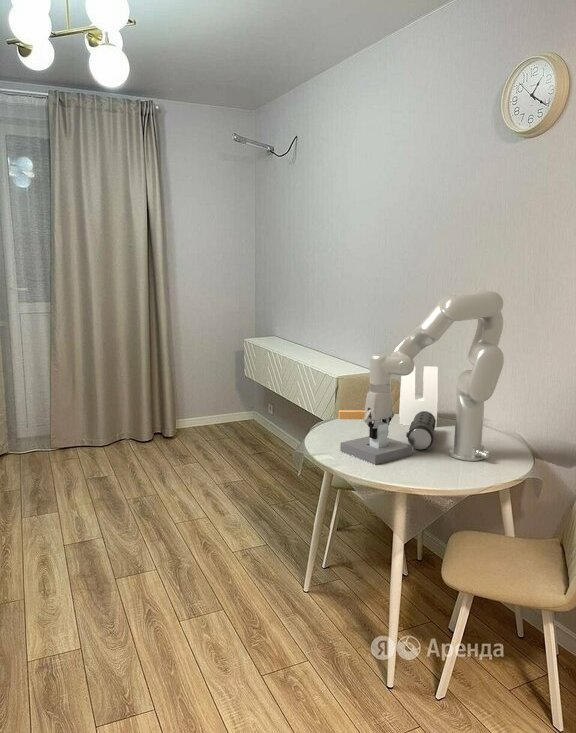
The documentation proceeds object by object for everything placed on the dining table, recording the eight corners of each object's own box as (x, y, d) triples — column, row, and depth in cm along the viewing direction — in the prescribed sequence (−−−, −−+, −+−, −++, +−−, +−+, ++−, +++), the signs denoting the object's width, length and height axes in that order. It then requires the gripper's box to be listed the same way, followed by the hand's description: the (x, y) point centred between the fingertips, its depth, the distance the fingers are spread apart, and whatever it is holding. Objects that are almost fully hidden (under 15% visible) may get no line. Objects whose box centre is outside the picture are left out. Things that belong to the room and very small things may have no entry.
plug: (388, 450, 209) (388, 423, 207) (378, 452, 206) (379, 425, 204) (378, 446, 213) (378, 420, 211) (368, 449, 210) (369, 422, 208)
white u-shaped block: (436, 427, 248) (439, 370, 244) (400, 425, 250) (402, 369, 246) (432, 416, 266) (435, 363, 262) (399, 414, 269) (401, 362, 265)
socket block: (412, 455, 209) (412, 445, 209) (375, 464, 198) (375, 455, 198) (376, 443, 224) (377, 434, 223) (340, 451, 212) (340, 442, 212)
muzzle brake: (412, 433, 241) (437, 431, 238) (406, 452, 215) (434, 450, 212) (409, 411, 240) (434, 409, 237) (403, 428, 214) (431, 425, 211)
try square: (379, 434, 221) (380, 410, 220) (380, 436, 219) (381, 411, 218) (338, 434, 221) (338, 410, 219) (338, 436, 218) (339, 411, 217)
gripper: (388, 383, 214) (387, 430, 217) (355, 389, 204) (354, 438, 207) (404, 386, 208) (402, 435, 211) (370, 392, 198) (369, 443, 201)
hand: (378, 436), depth 209 cm, fingers closed on plug, 4 cm apart
